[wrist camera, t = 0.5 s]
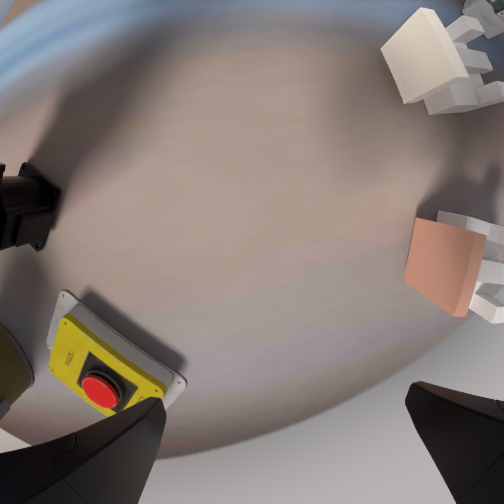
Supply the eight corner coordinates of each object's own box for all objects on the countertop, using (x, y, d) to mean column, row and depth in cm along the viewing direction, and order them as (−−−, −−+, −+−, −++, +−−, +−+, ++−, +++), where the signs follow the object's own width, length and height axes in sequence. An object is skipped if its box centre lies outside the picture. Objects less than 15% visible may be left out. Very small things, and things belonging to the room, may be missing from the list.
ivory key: (403, 103, 16) (457, 76, 9) (380, 48, 15) (420, 7, 8) (468, 100, 16) (519, 84, 9) (448, 51, 14) (491, 26, 8)
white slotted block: (421, 290, 20) (468, 324, 14) (438, 210, 19) (494, 221, 12) (458, 293, 20) (504, 322, 14) (474, 221, 19) (527, 234, 12)
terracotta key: (402, 280, 19) (453, 316, 12) (415, 217, 18) (475, 231, 11) (468, 286, 19) (517, 315, 12) (480, 233, 18) (534, 250, 11)
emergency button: (142, 449, 21) (26, 361, 19) (153, 421, 25) (47, 343, 23) (181, 409, 19) (37, 300, 17) (191, 378, 23) (65, 284, 22)
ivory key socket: (428, 115, 17) (481, 96, 10) (398, 44, 16) (437, 8, 9) (464, 112, 17) (514, 98, 10) (437, 46, 15) (477, 19, 8)
